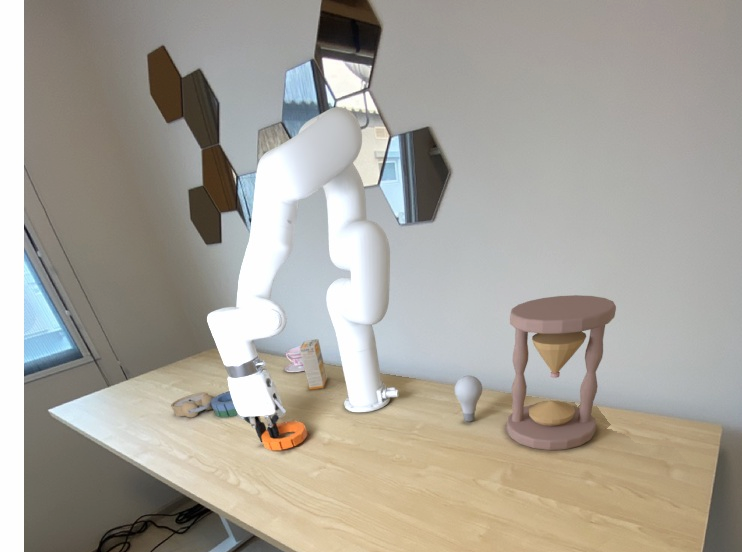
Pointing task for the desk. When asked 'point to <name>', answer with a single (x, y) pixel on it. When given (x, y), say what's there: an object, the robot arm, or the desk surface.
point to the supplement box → (313, 364)
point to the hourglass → (557, 367)
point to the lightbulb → (468, 395)
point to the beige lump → (192, 404)
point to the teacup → (294, 360)
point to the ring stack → (223, 405)
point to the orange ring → (287, 441)
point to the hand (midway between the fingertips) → (270, 438)
